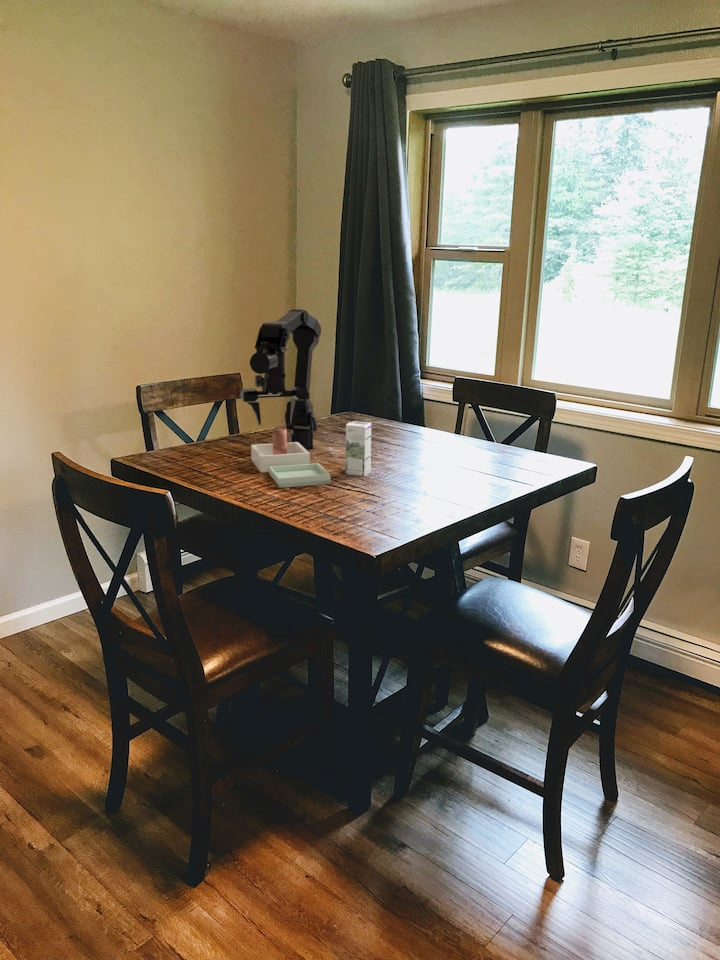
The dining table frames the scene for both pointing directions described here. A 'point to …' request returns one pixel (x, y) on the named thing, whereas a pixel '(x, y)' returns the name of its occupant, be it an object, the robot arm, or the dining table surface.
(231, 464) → the dining table surface
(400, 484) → the dining table surface
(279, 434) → the dowel pin
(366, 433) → the syrup box
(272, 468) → the tray
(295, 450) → the square storage bin
